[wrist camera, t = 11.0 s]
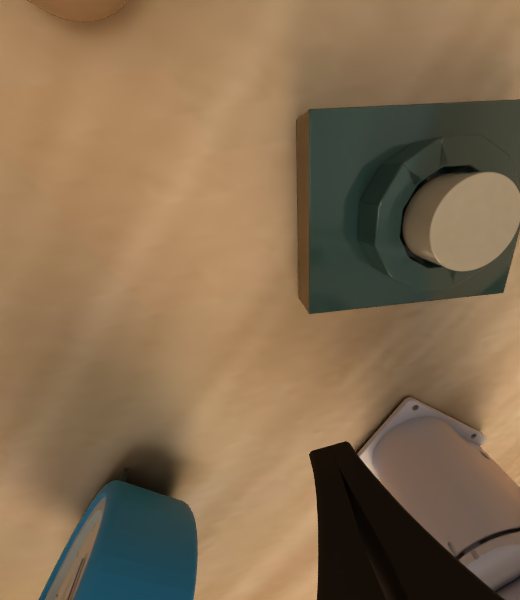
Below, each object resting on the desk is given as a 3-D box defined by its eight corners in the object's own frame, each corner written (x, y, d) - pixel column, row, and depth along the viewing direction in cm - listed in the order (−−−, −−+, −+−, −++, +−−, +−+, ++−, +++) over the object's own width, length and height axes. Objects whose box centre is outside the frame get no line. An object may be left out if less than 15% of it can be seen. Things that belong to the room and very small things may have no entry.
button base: (508, 108, 17) (604, 85, 12) (471, 280, 20) (535, 305, 16) (296, 119, 16) (323, 97, 11) (298, 298, 19) (320, 330, 15)
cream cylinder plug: (490, 170, 14) (534, 168, 12) (472, 256, 15) (508, 267, 13) (407, 175, 13) (438, 175, 11) (397, 263, 15) (423, 275, 13)
